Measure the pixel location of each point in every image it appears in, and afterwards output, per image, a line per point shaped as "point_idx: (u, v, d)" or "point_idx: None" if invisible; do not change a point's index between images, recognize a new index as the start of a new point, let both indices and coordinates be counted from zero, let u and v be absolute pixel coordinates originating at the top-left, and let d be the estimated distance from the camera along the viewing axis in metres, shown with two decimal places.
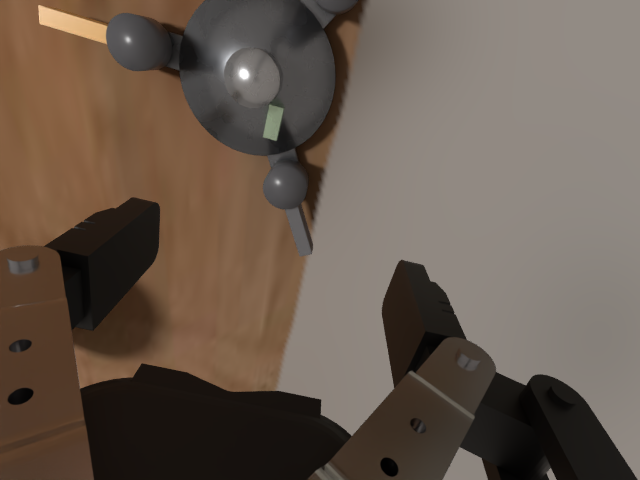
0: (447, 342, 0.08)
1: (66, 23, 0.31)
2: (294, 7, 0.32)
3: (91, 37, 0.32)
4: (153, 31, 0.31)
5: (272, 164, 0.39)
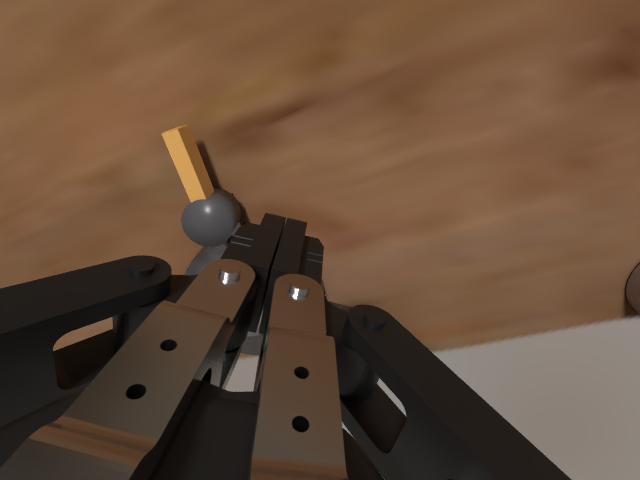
0: (278, 283, 0.09)
1: (181, 159, 0.29)
2: None
3: (185, 185, 0.30)
4: None
5: None
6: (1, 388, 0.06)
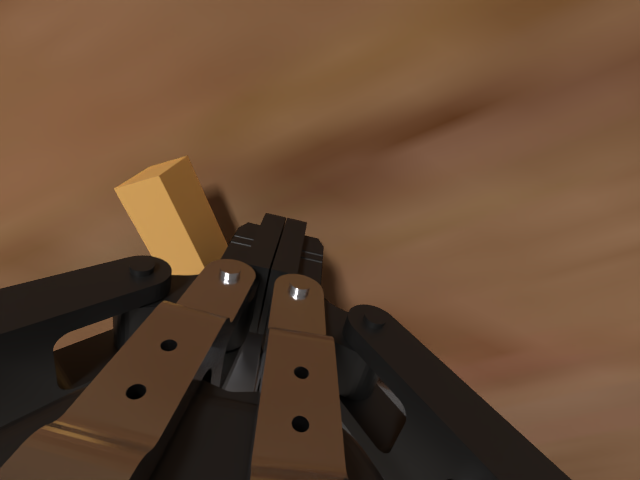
0: (278, 284, 0.09)
1: (172, 252, 0.11)
2: None
3: None
4: None
5: None
6: (1, 388, 0.06)
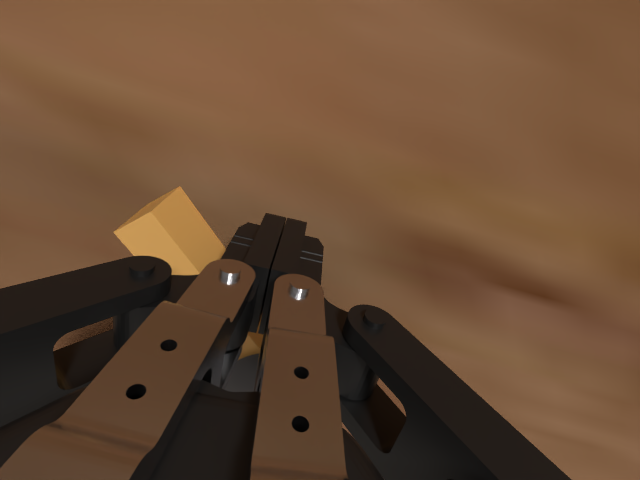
0: (278, 283, 0.09)
1: None
2: None
3: None
4: None
5: None
6: (1, 388, 0.06)
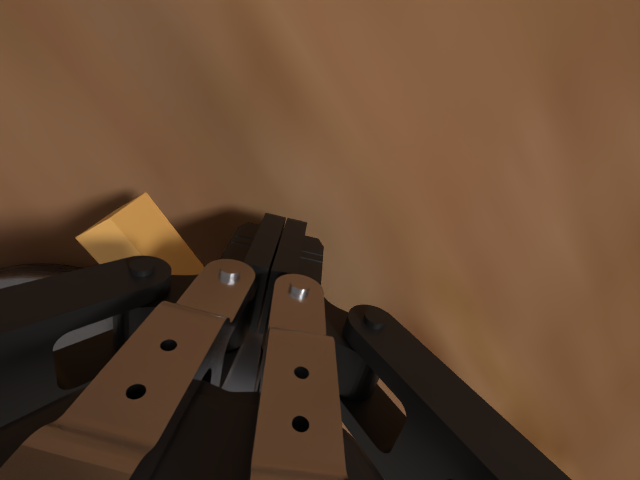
0: (278, 283, 0.09)
1: None
2: None
3: None
4: None
5: None
6: (1, 388, 0.06)
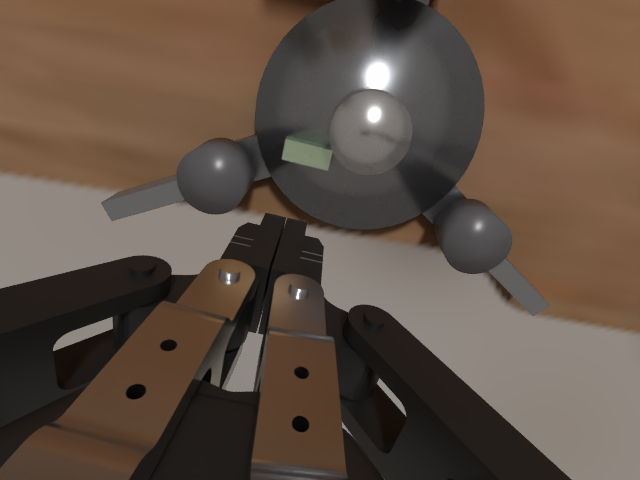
0: (278, 284, 0.09)
1: None
2: (447, 180, 0.26)
3: None
4: None
5: (243, 143, 0.26)
6: (1, 388, 0.06)
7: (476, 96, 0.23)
